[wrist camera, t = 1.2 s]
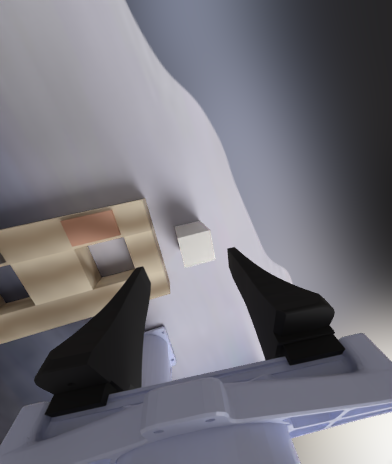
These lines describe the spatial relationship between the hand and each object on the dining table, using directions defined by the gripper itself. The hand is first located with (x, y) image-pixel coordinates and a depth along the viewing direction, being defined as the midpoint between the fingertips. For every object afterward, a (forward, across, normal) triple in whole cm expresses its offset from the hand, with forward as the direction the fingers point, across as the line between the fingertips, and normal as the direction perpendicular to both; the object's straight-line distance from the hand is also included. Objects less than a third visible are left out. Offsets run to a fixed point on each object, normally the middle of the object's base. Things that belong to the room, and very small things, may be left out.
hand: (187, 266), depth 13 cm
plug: (+11, 0, +4) cm, 12 cm away
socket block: (+9, +18, +3) cm, 20 cm away
